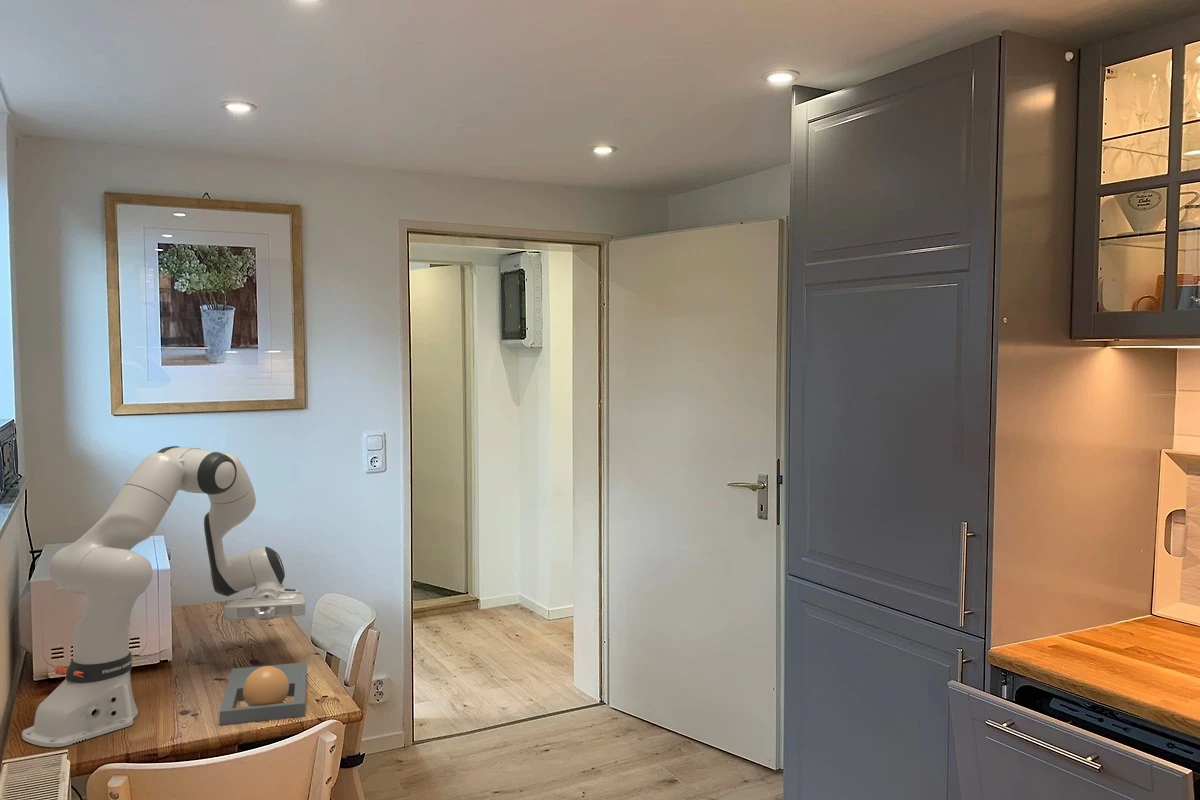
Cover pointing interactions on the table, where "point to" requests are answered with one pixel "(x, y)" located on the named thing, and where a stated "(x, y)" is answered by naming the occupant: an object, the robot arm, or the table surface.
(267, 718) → the deck
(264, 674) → the ball
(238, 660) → the table surface
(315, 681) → the table surface
